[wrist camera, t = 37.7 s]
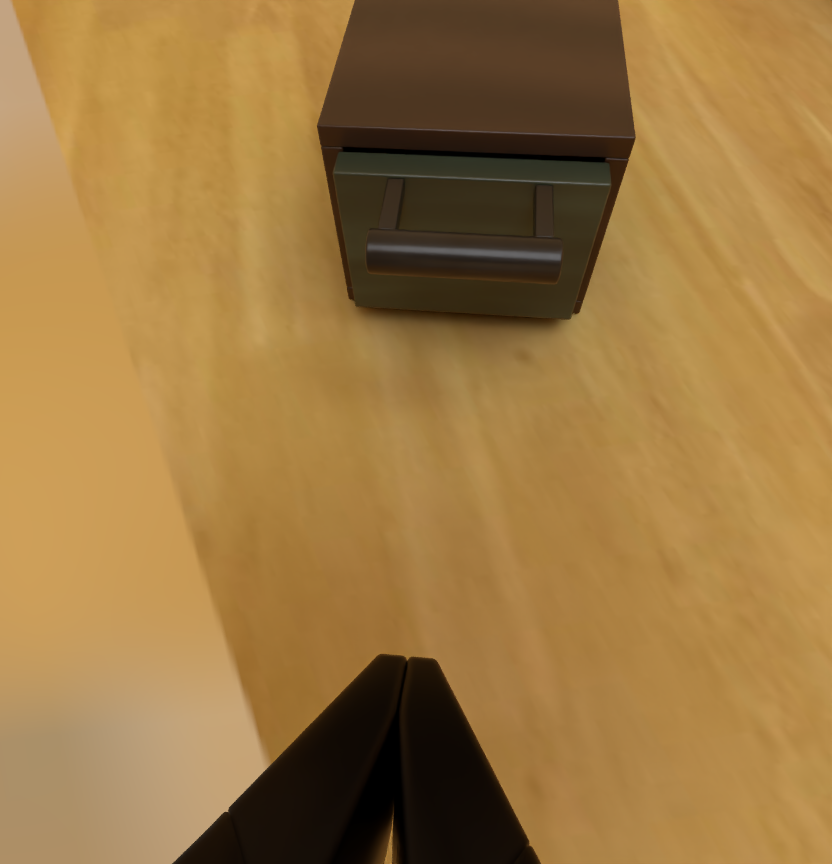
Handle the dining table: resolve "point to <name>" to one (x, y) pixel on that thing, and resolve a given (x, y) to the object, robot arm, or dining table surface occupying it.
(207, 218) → the dining table surface
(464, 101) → the cabinet
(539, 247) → the drawer
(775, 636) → the dining table surface
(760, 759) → the dining table surface
